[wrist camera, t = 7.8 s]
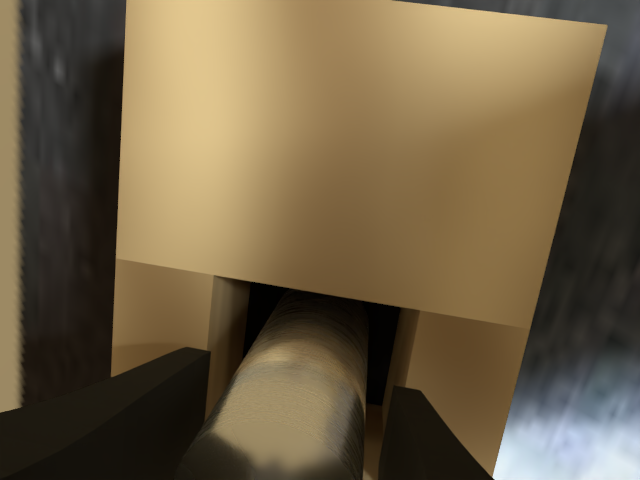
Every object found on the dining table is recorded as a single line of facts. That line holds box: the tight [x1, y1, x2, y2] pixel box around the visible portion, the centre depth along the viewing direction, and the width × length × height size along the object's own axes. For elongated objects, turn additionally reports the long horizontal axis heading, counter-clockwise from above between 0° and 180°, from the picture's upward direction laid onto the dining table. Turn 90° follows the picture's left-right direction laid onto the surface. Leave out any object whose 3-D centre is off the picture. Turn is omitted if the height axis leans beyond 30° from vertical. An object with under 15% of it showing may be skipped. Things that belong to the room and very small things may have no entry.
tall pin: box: [174, 288, 369, 480], centre depth 12 cm, size 3×3×8 cm
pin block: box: [111, 0, 608, 480], centre depth 13 cm, size 10×14×4 cm
